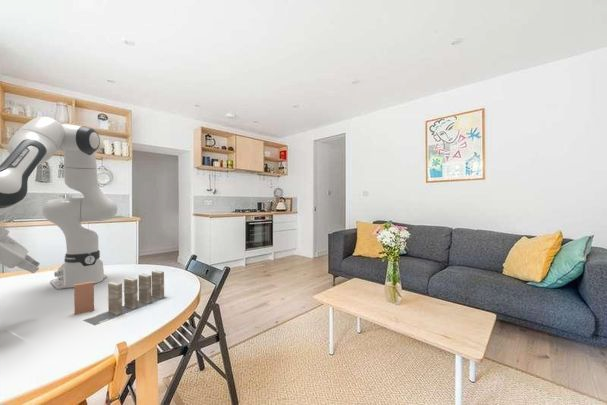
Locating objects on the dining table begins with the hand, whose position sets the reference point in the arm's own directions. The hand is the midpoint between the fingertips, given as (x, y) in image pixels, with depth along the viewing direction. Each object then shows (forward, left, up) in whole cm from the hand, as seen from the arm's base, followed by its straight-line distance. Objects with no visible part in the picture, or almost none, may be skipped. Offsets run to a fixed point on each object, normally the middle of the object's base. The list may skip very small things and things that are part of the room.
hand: (37, 268), depth 78 cm
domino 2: (+14, +19, -17) cm, 29 cm away
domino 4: (+14, +29, -17) cm, 37 cm away
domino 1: (+14, +14, -17) cm, 26 cm away
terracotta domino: (+4, +10, -17) cm, 20 cm away
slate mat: (+14, +19, -17) cm, 29 cm away
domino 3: (+14, +24, -17) cm, 33 cm away
